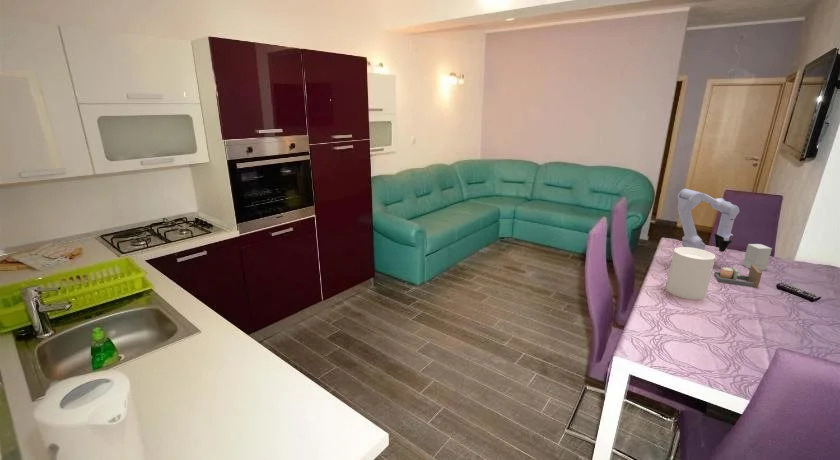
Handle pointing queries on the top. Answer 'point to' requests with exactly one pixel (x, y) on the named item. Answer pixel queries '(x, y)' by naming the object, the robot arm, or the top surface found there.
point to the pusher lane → (743, 278)
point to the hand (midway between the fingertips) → (719, 249)
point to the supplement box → (757, 256)
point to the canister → (690, 273)
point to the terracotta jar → (726, 273)
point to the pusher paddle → (735, 273)
